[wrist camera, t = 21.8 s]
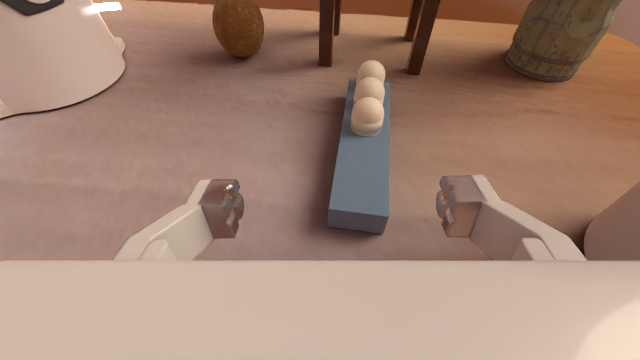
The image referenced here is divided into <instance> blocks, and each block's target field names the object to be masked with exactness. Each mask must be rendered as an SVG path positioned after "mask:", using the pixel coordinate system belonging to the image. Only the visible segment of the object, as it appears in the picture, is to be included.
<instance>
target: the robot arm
mask: <svg viewBox="0 0 640 360" xmlns="http://www.w3.org/2000/svg"><path fill="white" fill-rule="evenodd" d="M120 9H121V6H120V4H119V2H112V3H99V4H93V2H92V0H0V118H3V117H7V116H10V115H14V114H19V113H27V112H38V111H45V110H51V109H56V108H60V107H64V106H67V105H71V104H74V103H77V102H80V101H82V100H85V99H87V98H89V97H92V96H94V95H96V94H98V93H99V92H101V91H103V90H105V89H106V88H108V87H109V86H110V85H112V84H113V83H114V82H115V81H116V80H117V79H118V78H119V77H120V76H121V75H122V73H123V71H124V69H125V61H124V59H123V57H122V53H123V51H124V49H125V44H124V42H123V41H122V39H121V38H119V37H113V36H112V34H111V33H110V31H109V29H108V27H107V26H106V24H105V22H104V21H103V19H102V17H101V15H100V14H99V12H98V11H108V10H120ZM440 187H441V189H442V190H440V191H439V192H438V193H437V198H436V208H437V213H438V215H439V217H441V218H442V219H443V222H442V226H443V229H444V231H445V234H446V237H466V238H469V239H470V240H472V241H473V242H474V243H475V244H476V245H477V246H478V247H479V248H481V249H482V250H483V251H484V252H485V253H486V254H487V255H488V256H490V257H491V258H492V259H493V260H494V261H193V260H194V259H195V258H196V257H197V256H198V255H199V254H200V253H201V252H202V251H203V250H204V249H205V248H206V247H207V246H208V245H209V244H210V243H211V242H212V241H213V240H214V239H221V238H235V236H236V233H237V230H238V227H239V224H238V221H239V220H240V219H241V218H242V216H243V212H244V200H243V197H242V195H241V194H240V193H238V191H239V189H240V186H239V183H238V181H237V180H236V179H213V180H211V179H206V180H199V181H198V182H197V184H196V186H195V187H194V189H193V191H192V192H191V194H190V196H189V198H188V199H187V201H186V203H185V204H184V205H180V206H179V207H177V208H175V209H174V210H172V211H171V212H169V213H167V214H166V215H164V216H163V217H161V218H159V219H158V220H156V221H154V222H153V223H151V224H150V225H148V226H146V227H145V228H143V229H142V230H140V231H138V232H137V233H135V234H134V235H132V236H130V237H129V238H127V240H126V241H125V242H124V244H123V245H122V247H121V248H120V249H119V251H118V252H117V254H116V255H115V256H114V258H113V259H112V260H6V261H0V360H640V261H588V260H587V259H586V258H585V257H584V255H583V254H582V253H581V252H580V250H579V249H578V248H577V246H576V245H575V244H574V243H573V241H572V240H571V239H570V238H569V237H568V236H567V235H565V234H563V233H561V232H559V231H558V230H556V229H554V228H552V227H550V226H549V225H547V224H545V223H543V222H542V221H540V220H538V219H536V218H534V217H533V216H531V215H529V214H527V213H525V212H524V211H522V210H520V209H518V208H517V207H515V206H513V205H511V204H509V203H508V202H506V201H501V200H500V198H499V197H498V195H497V194H496V192H495V190H494V189H493V187H492V186H491V184H490V183H489V181H488V180H487V178H486V177H485V176H484V175H483V174H481V175H467V176H442V178H441V180H440Z"/></svg>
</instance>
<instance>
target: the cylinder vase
mask: <svg viewBox="0 0 640 360" xmlns="http://www.w3.org/2000/svg"><path fill="white" fill-rule="evenodd" d="M584 254H585V258H586V259H587V260H588V261H640V182H639V183H637V184H636V185H635V186H634V187H633V188H631V189H630V190H629V191H628V192H626V193H625V194H624V195H623V196H621V197H620V198H619V199H618V200H616V201H615V202H614V203H613V204H611V205H610V206H609V207H608V208H607V209H605V210H604V211H603V212H602V213H600V214H599V215H598V216H597V217H596V218H594V219H593V221H592V222H591V223H590V225H589V226H588V228H587V230H586V233H585V237H584Z"/></svg>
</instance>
